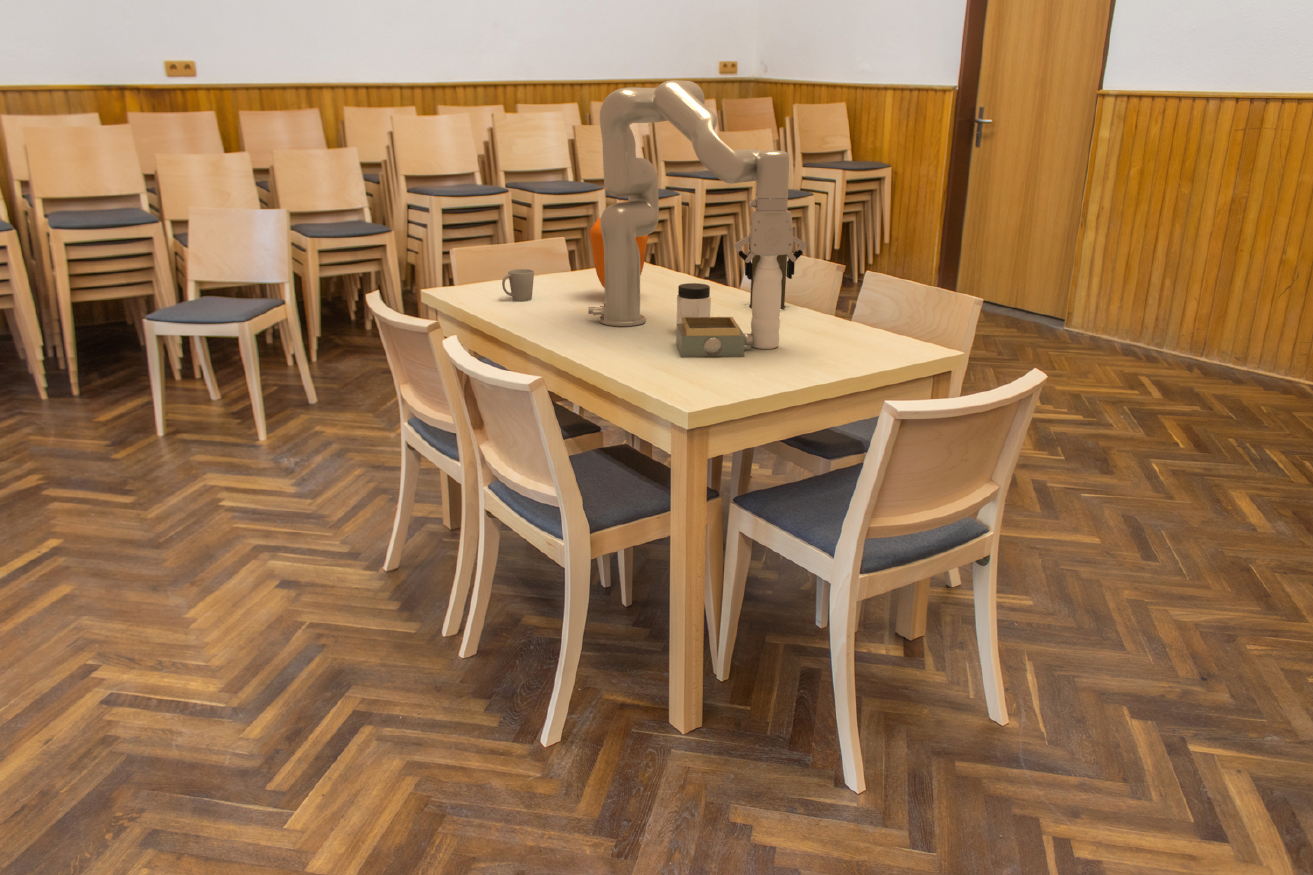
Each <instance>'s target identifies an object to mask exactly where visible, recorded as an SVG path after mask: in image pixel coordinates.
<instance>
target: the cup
mask: <svg viewBox="0 0 1313 875" xmlns="http://www.w3.org/2000/svg"><path fill="white" fill-rule="evenodd" d="M534 278H535V271H534V270H533V269H527V268H517V269H509V270H508V272H507V274H506V275H504V277H503V278H502V283H501V284H502V289H503V292H504V293H505V294H506V295H507V296H510V297H511V298H512V300H513V301H514V300H515V302H529V301H531V300H532V299H533V290H534V289H533V287H534V281H535V280H534ZM507 279H508V280H509V287H510V288H509V289H510V291H508V290H507V289H506V284H505V283H506V280H507ZM528 300H529V301H528Z"/></svg>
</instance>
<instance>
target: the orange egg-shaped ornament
mask: <svg viewBox="0 0 1313 875" xmlns="http://www.w3.org/2000/svg"><path fill="white" fill-rule="evenodd" d="M600 220H601V216H600V217H599V218H598V219H597V220H596V221H595V222H594V224H593V225H592V226H591V228H590V230H589V237H590V243H591V244H590V245H591V248H592V259H593V264H594V268H595V272H596V276H597V279H598V280H599V282H600V285H601V286H602V287H603V288H604V289H605V264H604V243H603V236H602V232H601V225H600ZM648 237H649V234H648V235H645V236H640V237H635V239H636V243H637V245H638V248H639V252H640V276H641V275H642V272H643V269H644V264H645V259H646V254H647V253H646V251H647V245H648V239H649V238H648Z"/></svg>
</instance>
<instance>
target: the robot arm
mask: <svg viewBox="0 0 1313 875" xmlns="http://www.w3.org/2000/svg"><path fill="white" fill-rule="evenodd" d="M705 101H706V100H705V94H704V91H703V89H702V88H701V86H700V85H699V84H698V83H695V81H691V80H677V79H676V80H675V79H674V80H667V81H663V82H662V83H660V84H659V85H658V86H656V87H633V86H632V87H629V86H628V87H621V88H618V89H616V90H614V91H612V92H611V93H609V94H608V95H607V96H606V97H605V98H604V100H603V101H602V104H601V106H600V110H599V126H600V133H601V134H600V135H601V142H602V143H601V144H602V164H603V165H602V166H603V168H602V169H603V182H604V188H605V191H606V192H607V193H608V194H609V195H610V196H613V197H617V198H618V197H619V198H621V197H627V198H628V200H627V201H619V202H614V203H612V204H610V205H608V206H607V207H605V209H604V210H603V212H602V213H601V216H600V217H601V220H600V225H601V232H602V236H603V243H604V264H605V288H604V303H603V305H599V306H587V307H588V310H587V311H588V314H589V315H593V316H598V315H599V321H598V322H600V323H601V324H602V325H606V326H611V327H633V326H638V325H642V324H644V323H646V320H647V318H646V316H645V315H643V314H641V275H640V252H639V248H638V245H637V243H636V239H635V237H640V236H645V235H648V236H649V235H650V234H652V233H653V232H654V231H655V230H656V228H657V227H658V223H659V220H660V219H659V218H660V212H659V211H660V206H659V205H660V204H659V203H660V202H659V179H658V173H657V170H656V169H655V166H654V165H653V164H652V162H651V161H650V160H648V159H647V158H644V157H637V153H636V150H637V149H636V147H637V146H636V138H635V136H634V134H633V131H632V128H631V126H630V125H632V124H654V123H662V122H667V121H668V122H669V123H670V124H671V125H672V126H674V128H675V129H677V130H678V131H679V133H680V134H682V135H683V136H684V137H685V138H686V139H687V140H689V141H690V142H691V144H692V149H693V151H694V153H695V155H696V157H697V159H698V161H699V163H701V164H702V165H703V166H704V167H705V168H706V169H707V170H708V171H709V172H710V173H711V174H713V176H715V177H716V178H717V179H719V180H720V181H722V182H724V183H726V184H732V185H733V184H739V183H750V182H755V197H754V199H753V200H749V205H748V206H749V207H751V208H754V209H755V210H753V211H752V213H751V218H750V224H749V232H748V235H747V236H745V237H744V238H742V239H740V240H738V241H736V242H734V243H733V247H734V249H735V251H736V252H737V255H738V256H739V257H740V258H741V259H742V260H743V261H744V275H745V277H746V278H747V279H748V280H750V281H751V279H752V259H753V257H754V256H755V255H787V267H786V278H787V279H789V280H790V279H791V280H792V279H793V276H794V275H795V265H796V263H795V262H796V261H797V260H798V259H799V258H800V257H801V256H802V255H803V252H804V251H805V249H806V248H807V245H808V244H807V242H805V241H804V240H802V239H800V238H798V237H796V236H794V229H793V227H794V226H793V218H792V211H790V210H788V208H789V207H788V205H789V201H788V200H789V180H790V179H789V173H790V156H789V153H788V152H786V151H784V150H760V149H756V148H755V149H754V148H746V149H745V148H740V149H732V147H730V146H729V145H727V144H726V143H725V142H724V141H723V140H722V139H721V138H720V137H719V136H718V135H717V133H716V132H715V129H716V127H717V125H718V124H717V123H718V117H717V115H716V113H714V111H712V110H711V109H710V108H709V107H708V106H706V105H705ZM794 243H795V244H797V246H798V247H797V250H795V251H794V252H793V250H794ZM747 244H748V250H749V251H748V252H747V253H745V252H744V251H743V249H742V247H743V246H745V245H747Z"/></svg>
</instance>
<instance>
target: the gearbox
mask: <svg viewBox="0 0 1313 875" xmlns="http://www.w3.org/2000/svg"><path fill="white" fill-rule="evenodd" d="M675 334H676V337H675V338H676V342H675V344H676V347H677V350H678V353H679V355H680V357H681V358H697V357H698V358H701V357H702V358H707V357H709V358H710V357H711V358H715V357H717V358H718V357H719V358H721V357H722V358H723V357H729V358H730V357H732V358H733V357H734V358H735V357H745V346H751V345H753V343H754V336H753V334H751V333H744V332H743V330H742V329H741V327H740V326H739V325H738V323H737V321H736V320H735V319H734V317H733V316H710V317H682V324H677V323H676V333H675Z"/></svg>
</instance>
